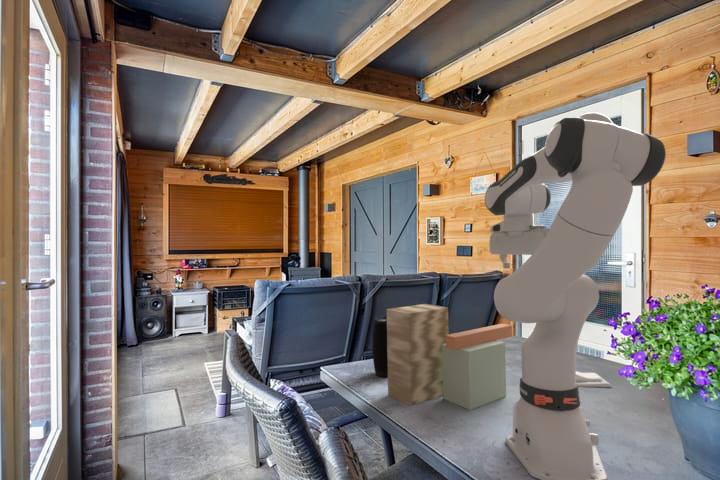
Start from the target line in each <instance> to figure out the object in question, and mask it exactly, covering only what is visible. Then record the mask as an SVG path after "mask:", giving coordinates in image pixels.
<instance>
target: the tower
mask: <svg viewBox="0 0 720 480" xmlns="http://www.w3.org/2000/svg"><path fill="white" fill-rule="evenodd" d="M386 317H387V357H388V375H387V395H388V396H389V397H391V398H394V399H396V400H398V401H400V402H402V403H405V404H406V405H408V406H413V405H416V404H420V403H423V402H427V401H428V400H431V399H435V398H438V397H441V396H443V366H442V344H445V343H446V336H445V335H449V308H448V306H447V307H446V306H441V305H435V304H428V303H422V304H416V305H408V306H400V307H392V308H386Z"/></svg>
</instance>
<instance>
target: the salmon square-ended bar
mask: <svg viewBox="0 0 720 480" xmlns="http://www.w3.org/2000/svg"><path fill="white" fill-rule="evenodd" d="M512 325H513V324H509V323H508V324H507V323H497V324H494V325H489V326H483V327H479V328H473V329H470V330H469V329H468V330H465V331H460V332H459V331H458V332H454V333H450V334H449V335H445V336H446V348H449V349H453V350H458V349H462V348H466V347H470V346H474V345H478V344H482V343H487V342H491V341H495V340H497V341H500V340H502V339H503V340H504V339H507V338H511V337H513V326H512Z"/></svg>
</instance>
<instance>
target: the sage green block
mask: <svg viewBox="0 0 720 480" xmlns="http://www.w3.org/2000/svg"><path fill="white" fill-rule="evenodd" d="M442 366H443V395H442V399H443V400H445V401H447V402H450V403H452V404H455V405H458V406H460V407H462V408H465V409H467V410H469V411H471V410H473V409H477V408H478V407H479V408H480V407H481V406H484V405H488V404H490V403H493V402H495V401H497V400H500V399H503V398H506V397H507V384H506V383H507V381H506V380H507V378H506V377H507V375H506V369H507V367H506V342H505V341H501V340H495V341H491V342H487V343H482V344H478V345H474V346H470V347H466V348H462V349H458V350H453V349H449V348H446V343H445V344H442Z"/></svg>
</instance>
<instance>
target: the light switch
mask: <svg viewBox="0 0 720 480" xmlns="http://www.w3.org/2000/svg"><path fill="white" fill-rule="evenodd" d="M576 384H577V386H578V387H581V388H582V387H583V388H585V387H586V388H612V384H611V383H609V382H608V381H607V380H605V379H604V378H603V377H602V376H600V375H599V374H598V373H596V372H581V371H578V370H576Z"/></svg>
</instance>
